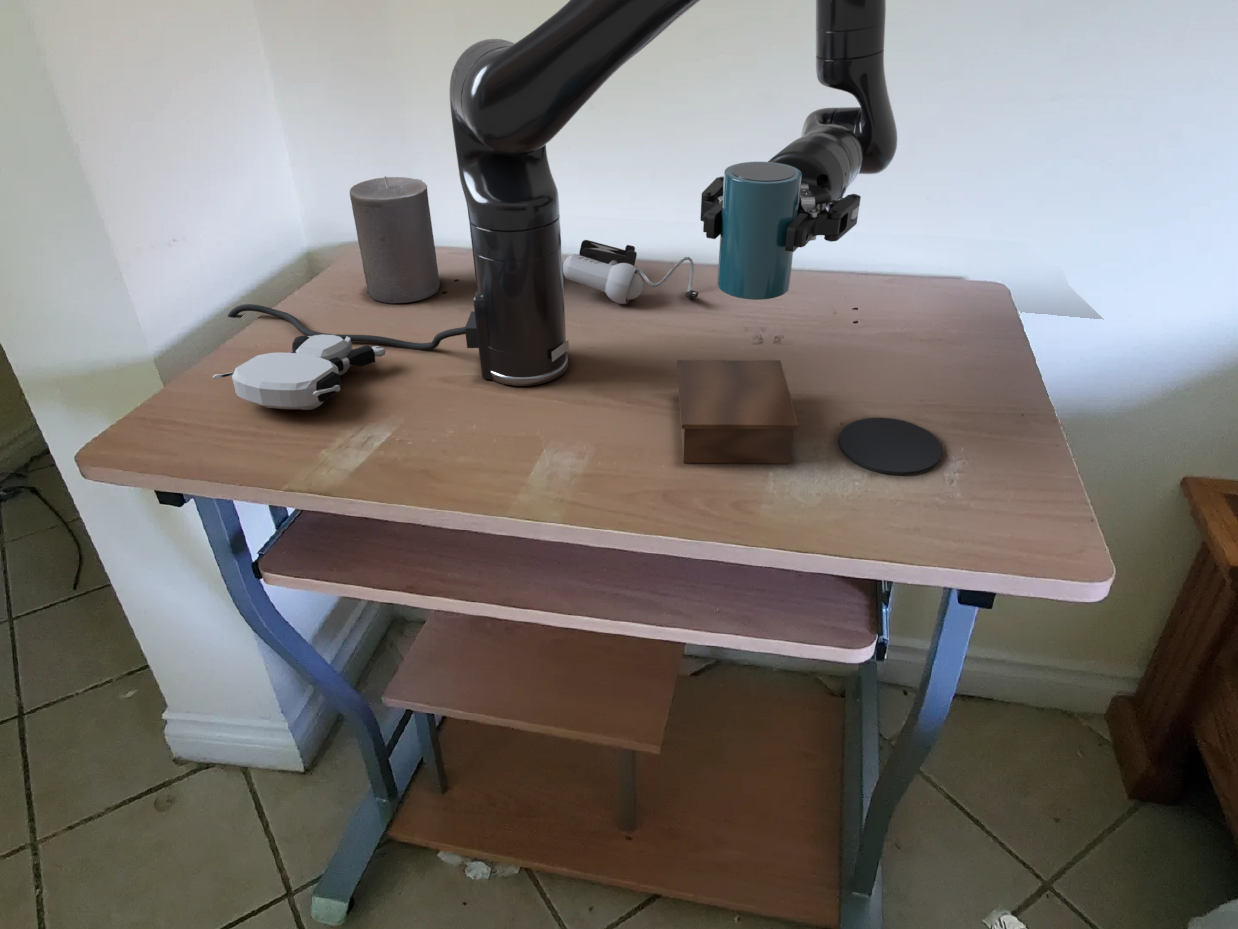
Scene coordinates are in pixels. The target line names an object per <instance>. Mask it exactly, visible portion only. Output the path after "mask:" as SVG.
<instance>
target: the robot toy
mask: <svg viewBox="0 0 1238 929" xmlns="http://www.w3.org/2000/svg"><path fill="white" fill-rule="evenodd" d="M385 355H386V348H384V347H382V346H379V345H373V346H370V345H368V344H367V345H363V346H359V347H355V348H353V344H352V342H351V338H349V337H346V338H345V337H342V336H336V335H325V334H323V335H314V336H306V335H299V336H296V337H295V338H294V340H293V341H292V344H291V351H290V352H269V353H262V354H257V355H256V356H253V357H252V358H251V359H249V360H247V361H245V362H243V363H242V364H240V365H238V366H236V367H235V369H234V370H233V371H231V372H226V373H221V374H213V376H212V378H213V379H214V380H219V379H221V378H226V377H231V379H232V383H233V387H234V392H235V394H236V395H237V396H238V397H239V398H240V399H242V400H244V401H246V402H249V403H251V404H254V405H257V406H260V407H264V408H267V409H268V408H269V409H281V410H302V411H311V410H315V409H317V408H318V407H320V406H322V405H323V403H324V402H326V401H328V400H329V399H330V398H332V397H333V396H334V395H336V394H337V393H339V392H340V391H341V389H342V387H343V386H342V380H341V376H342V375H344V374H345V373H347V372H348V371H349V369H350V367H351V366H355V367H364V366H367V365H370V364H374V363H376V358H381V357H383V356H385Z"/></svg>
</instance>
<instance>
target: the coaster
mask: <svg viewBox="0 0 1238 929" xmlns="http://www.w3.org/2000/svg"><path fill="white" fill-rule="evenodd" d="M838 446H839V449H840V451H841V452H842V454H844V455H845V457H846V458H847V459H849V460H850V461H851V462H852V463H854V464H856V465H857V466H860V467H862V468H864V469H866V470H869V471H872V472H875V473H879V474H885V475H891V476H913V475H920V474H922V473H923V474H924V473H925V472H928V471H930V470H932V469H934V468H935V467H936V466H938V464H939V463H940V461H941V460H942V457H943V448H942V445H941V443H940V441H939V439H938V438H937V437H936V436H934V435H933V433H932V432H929V431H928V430H927V429H925V428H923V427H921V426H919V425H918V424H914V423H912V422H909V421H905V420H901V419H897V418H891V417H866V418H861V419H858V420H855V421H852V422H850V423H849V424H847V425H846V426H844V427H843V429H841V431H840V432H839V436H838Z"/></svg>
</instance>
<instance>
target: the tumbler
mask: <svg viewBox="0 0 1238 929" xmlns="http://www.w3.org/2000/svg"><path fill="white" fill-rule="evenodd" d="M723 177H724V183H723V199H722V216H721V232H720V235H719V249H718V250H719V251H718V264H717V265H718V266H717V284H716V285H717V287H718V289H719V290H720V291H722V292H723V293H725V294H727V295H728V296H732V297H735V298H737V299H738V298H739V299H744V300H754V301H755V300H757V301H758V300H761V301H762V300H770V299H776V298H779V297H782V296H783V295H785V294H787V292H788V291H789V290H790V286H791V277H792V269H793V268H792V266H793V260H794V259H793V258H794V252H791V251H785V243H786V234H787V228H788V226H789V224H790V223H791V222H792V221H793V220H794V219H795V218H796V217H797V215H798V206H799V197H800V188H801V179H802V173H801V171H800V170H799V169H797V168H795V167H792V166H789V165H786V164H781V163H774V162H768V161H746V162H740V163H734V164H732V165H730V166H728V167H726V168H725V169H724V171H723Z"/></svg>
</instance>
